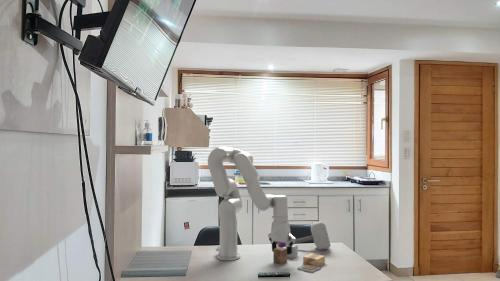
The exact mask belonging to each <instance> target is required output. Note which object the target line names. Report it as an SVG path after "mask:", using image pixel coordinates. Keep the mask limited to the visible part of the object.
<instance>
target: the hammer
mask: <svg viewBox="0 0 500 281" xmlns="http://www.w3.org/2000/svg"><path fill="white" fill-rule="evenodd" d="M310 232H311V235H309V236H305V237H300V238H296V240H295V242H294V244H296V245H298V244H299V243H304V242H308V241H311V240H313V245H315V247H316V248H317V250H318V251H322V250H328V249H330V247H331V241H330V238H329V234H328V231H327V227H326V224H325V223H324V221H321V220H318V221H315V222H312V223H311V224H310ZM291 241H292V239H291ZM276 243H277V248H278V247H282V248H286V246H287V244H286V243H281V242H276ZM288 243H289V242H288Z"/></svg>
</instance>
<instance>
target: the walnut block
mask: <svg viewBox="0 0 500 281" xmlns="http://www.w3.org/2000/svg"><path fill="white" fill-rule="evenodd" d="M273 263H274V264H276V265H277V264H278V265H283V264H287V263H288V257H287V249H286V247H277V248H275V249H273Z"/></svg>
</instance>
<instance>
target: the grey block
mask: <svg viewBox="0 0 500 281" xmlns="http://www.w3.org/2000/svg"><path fill="white" fill-rule="evenodd" d="M287 247H288V246H286V247H285V248H286V249H287ZM298 248H299V246H298V244H293V246H292V254H289V255H287V258H289V259H290V258H293V259H296V258H297V257H298V254H299V252H298V251H299V250H298Z"/></svg>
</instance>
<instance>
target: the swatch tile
mask: <svg viewBox="0 0 500 281" xmlns="http://www.w3.org/2000/svg"><path fill="white" fill-rule="evenodd" d="M321 268H322V267H320V266H319V267H316V266H312V265H308V264H306V265H305V264H303V265H301V266H299V267H297V270H299V271H303V272H307V273H309V274H310V273H311V274H312V273H315V272H317V271H319V270H321Z"/></svg>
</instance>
